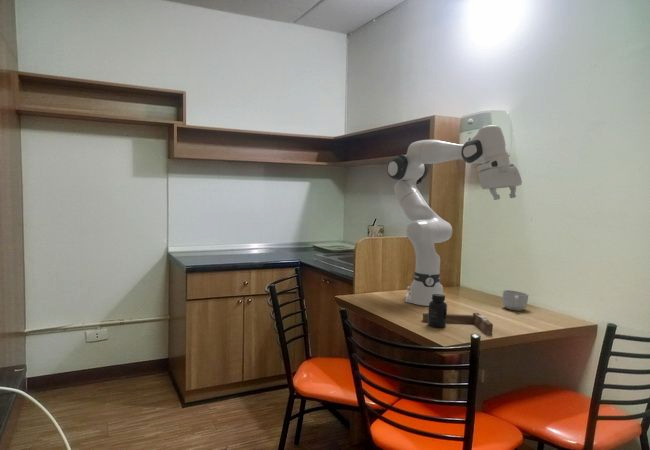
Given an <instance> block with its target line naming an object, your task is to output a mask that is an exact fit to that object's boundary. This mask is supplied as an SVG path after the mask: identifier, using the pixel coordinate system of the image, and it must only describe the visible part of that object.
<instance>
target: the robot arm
mask: <svg viewBox="0 0 650 450" xmlns="http://www.w3.org/2000/svg"><path fill="white" fill-rule="evenodd" d="M506 145H507V144H506V140H505V136H504V133H503V130H502V128H501V127H500V126H499V125H494V124H490V125H489V124H488V125H484V126H482V127H480V128H479V129H478V131H477V133H476V134H475V135H474V136H473V137H472V138H471V139H469V140H468V141H465V143H464V144H460V143H458V144H457V143H453V142H447V141H444V140H443V141H442V140H439V139H421V140H417V141H414V142H411V143H410V144H409V146H408V147H407V151H406V154H403V153H401V154H399V155H398V156H395V157H394V158H392V159H391V160H389V162H388V164H387V167H386V171H387V172H386V173H387V175H388V176H389V178H391V179H393V180H396V181H397V182H396V183H395V184H394V187H393V191H394V194H395V198H396V200H397V201H398V204H399V205H400V207H401V209H402V210H403V212H404V214H405V215H406V217H407V218H408V220H409V221H411V222H409V223H408V225H407V227H406V230H405V231H406V232H405V233H406V237H407V238H408V241H410V242H411V243H412V246H413V249H414V254H415V268H414V269H415V271H414V272H413V281H412V283H411V285H409V286H407V288H406V291H407V292H408V293H406V294H405V300H404V302H405V303H410V304H415V305H418V306H424V307H426V306H427V307H429V303H430V302H431V301H432V294H442V295H444V293H443V292H444V287H443V285H442V284H441V272H440V271H441V257H440V254H438V253H437V251H436V247H435V244H437V243H438V244H441V243H444V242H447V241H448V240H450V239H451V237H452V235H453V227H452V224H451V223H450V222H448V221H446V220H445V219H443V218H442V217H440V215H438V214H437V213H436V212H435V210H433V209H432V208H431V207H430V206H429V204H428V203H427V202H426V200H425V198H424V196H423V195H422V194H421V192H420V190H419V189H418V187H417V185H419V184H421V183H422V181H423V180H425V178H426V177H427V175H428V173H429V165H435V164H441V163H445V162H450V161H457V160H463V161H464V162H465V163H467V164H480V165H478V166H477V167H476V170H477V172H479V173H478V179H479V184H480V187H481V189H483V190H489V192H490V194H491V196H492V197H493V200H494V201H498V200H500V199H501V196H500V194H498V193H497V189H504V188H509V191H510V193H509V194H508V196H509V198H510V199H514V198H516V197H517V195H516V192H517V187H519V186H521V185H522V183H523V180H522V177H521V174H520V171H519V169H518V168H517V166H515V165H514V164H513V163H510V157H509V154H508V152H507V150H506ZM444 302H445V303H446V304H447V302H446V300H445V301H444Z"/></svg>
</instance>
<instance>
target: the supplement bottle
mask: <svg viewBox="0 0 650 450" xmlns="http://www.w3.org/2000/svg"><path fill="white" fill-rule="evenodd" d="M444 301H446V295H444V294H443V295H442V294H432V301H431V302H430V303H429V306H428V312H427V313H428V322H427V325H428V326H429V327H431V328H437V329H444V328H446V326H447V323H446V317H447V314H448V304H447V302H446V303H445V302H444Z"/></svg>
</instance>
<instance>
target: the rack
mask: <svg viewBox="0 0 650 450" xmlns="http://www.w3.org/2000/svg"><path fill="white" fill-rule="evenodd" d="M428 313H429V312H422V322H423V323H428ZM448 323H449V324H463V325H464V324H469V325H475V326H476V327H477V328H478V329H479V330H481V331H482V332H483V333H484V334H485V335H487V336H492V335H493V326H494V325H493V323H492V322H491V321H489V319H488V318H487V317H485V316H484V315H482V314H480V313H479V312H472V314H454V313H447V317H446V324H448Z"/></svg>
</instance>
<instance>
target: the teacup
mask: <svg viewBox="0 0 650 450" xmlns="http://www.w3.org/2000/svg"><path fill="white" fill-rule="evenodd" d="M502 292H503V293H502V305H503V306H504V307H505V308H506V309H508V310H511V311H517V312H518V311H519V312H520V311H523V310H524V309H526V308H527V304H528V301H529V300H528V299H529V294H528V293H526V292H523V291H518V290H513V289H504V290H502Z"/></svg>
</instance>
